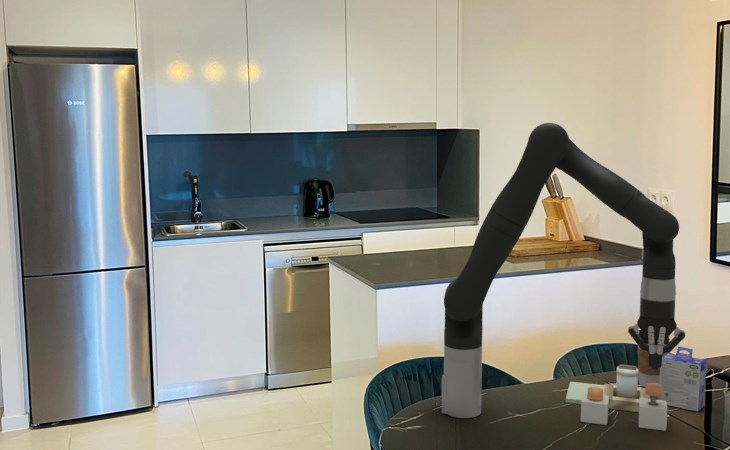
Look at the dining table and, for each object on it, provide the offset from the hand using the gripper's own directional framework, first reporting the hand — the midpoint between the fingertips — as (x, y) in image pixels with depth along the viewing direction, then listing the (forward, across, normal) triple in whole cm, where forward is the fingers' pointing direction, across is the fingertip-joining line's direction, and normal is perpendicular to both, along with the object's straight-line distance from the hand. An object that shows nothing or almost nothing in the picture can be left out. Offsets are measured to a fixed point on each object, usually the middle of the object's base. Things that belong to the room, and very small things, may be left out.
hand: (655, 368), depth 172 cm
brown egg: (+10, 0, 0) cm, 10 cm away
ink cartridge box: (+14, +7, +15) cm, 21 cm away
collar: (+14, -6, +12) cm, 19 cm away
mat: (+14, -16, +14) cm, 25 cm away
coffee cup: (+14, 0, +28) cm, 31 cm away
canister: (+14, -6, +12) cm, 19 cm away
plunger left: (+12, -13, -1) cm, 18 cm away
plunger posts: (+14, -7, -1) cm, 15 cm away
